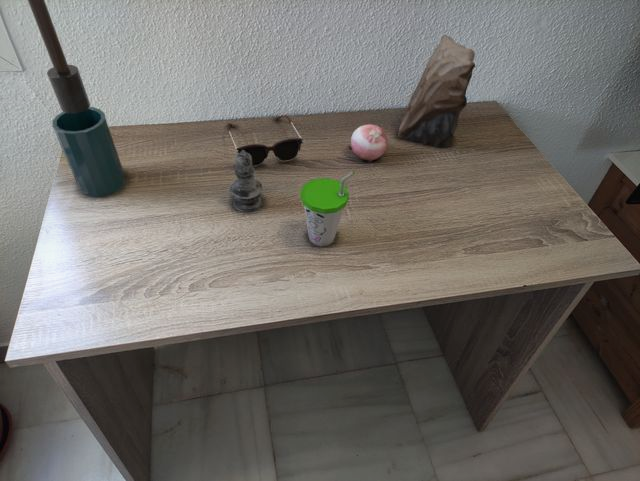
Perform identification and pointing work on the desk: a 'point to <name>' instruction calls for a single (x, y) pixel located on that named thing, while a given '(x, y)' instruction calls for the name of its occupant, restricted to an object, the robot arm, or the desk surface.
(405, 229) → the desk surface
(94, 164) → the pencil holder
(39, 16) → the brush
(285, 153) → the sunglasses
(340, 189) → the cup
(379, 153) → the pink round piece
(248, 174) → the chess piece
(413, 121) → the brown rock
